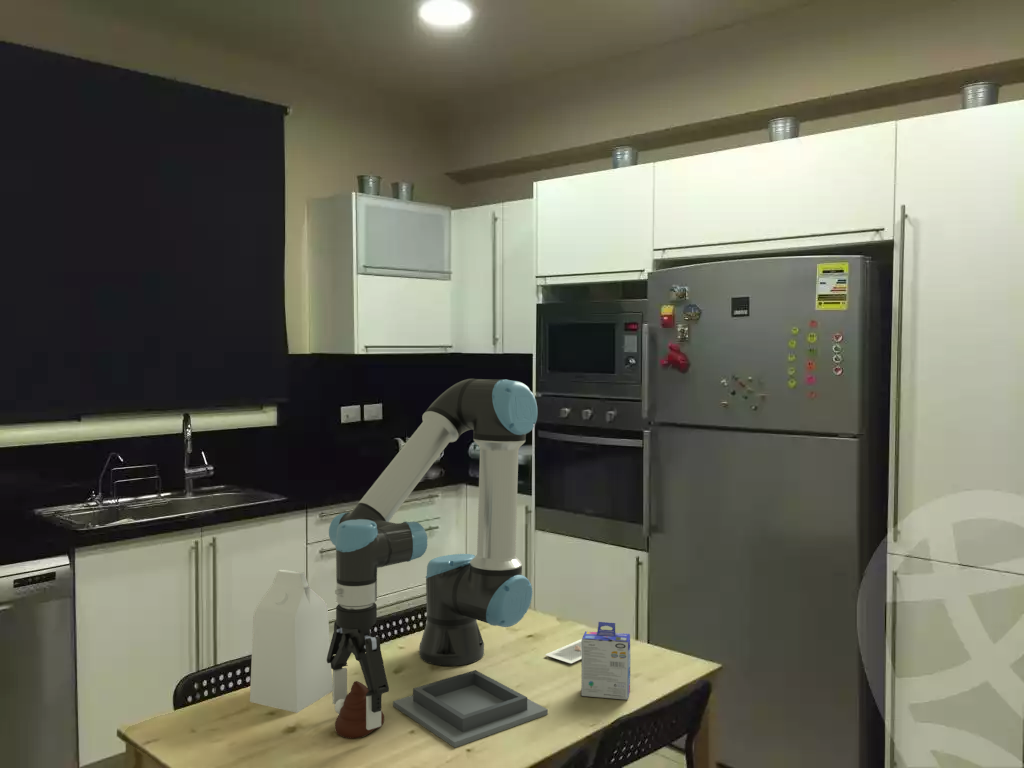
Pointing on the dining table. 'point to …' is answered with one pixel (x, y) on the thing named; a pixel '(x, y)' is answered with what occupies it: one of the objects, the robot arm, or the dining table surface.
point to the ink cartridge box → (606, 663)
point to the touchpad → (568, 652)
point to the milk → (290, 645)
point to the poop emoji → (353, 713)
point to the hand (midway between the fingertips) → (356, 714)
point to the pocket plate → (468, 707)
